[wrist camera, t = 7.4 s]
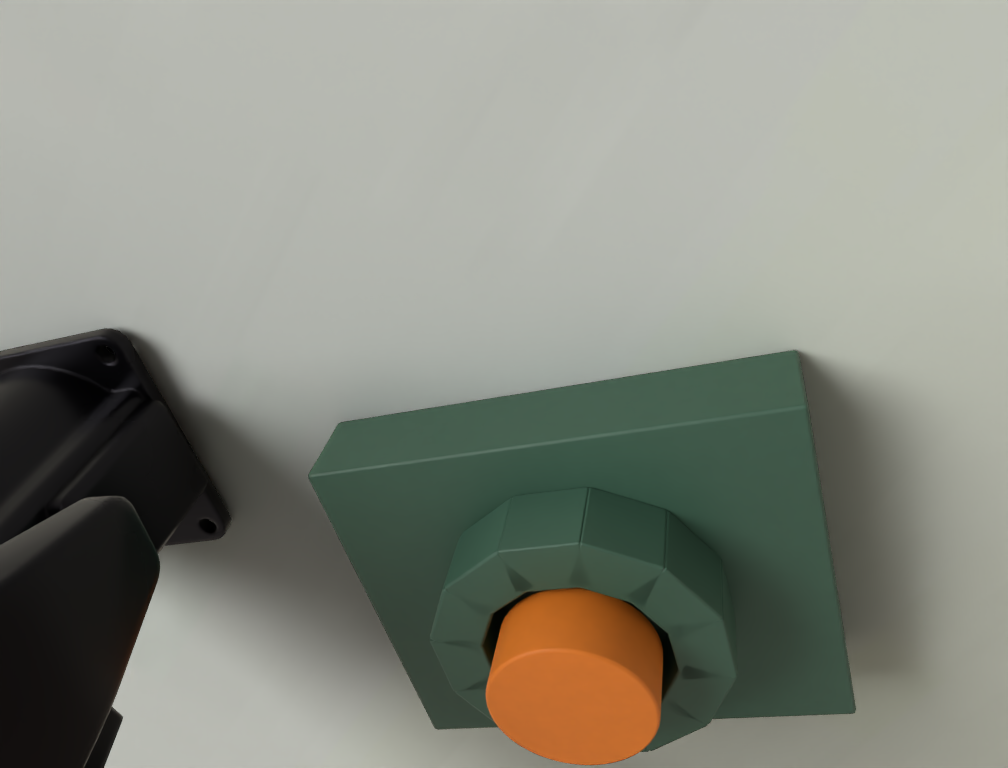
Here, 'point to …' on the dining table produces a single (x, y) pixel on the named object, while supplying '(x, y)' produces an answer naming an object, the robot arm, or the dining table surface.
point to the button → (577, 677)
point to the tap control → (605, 533)
